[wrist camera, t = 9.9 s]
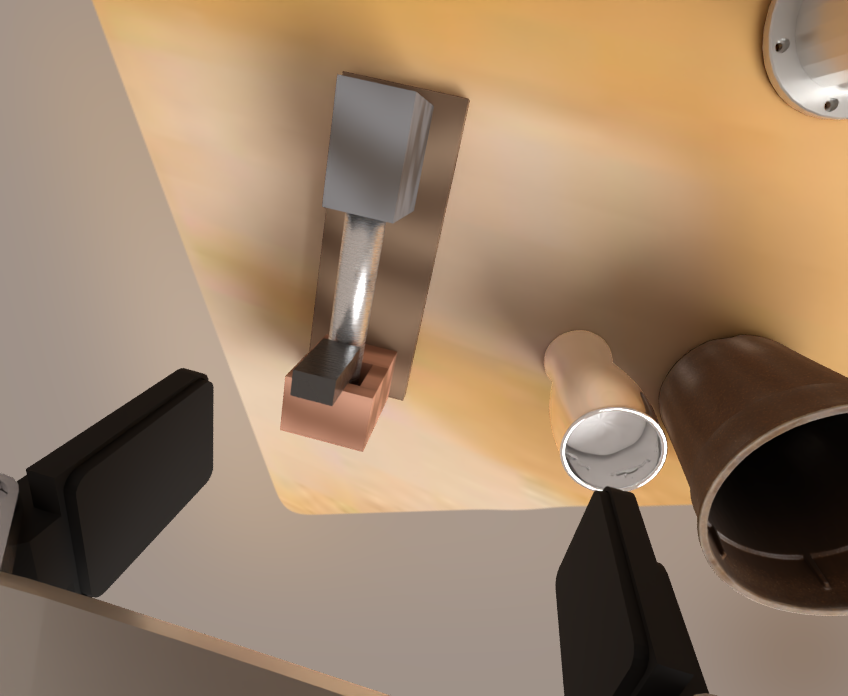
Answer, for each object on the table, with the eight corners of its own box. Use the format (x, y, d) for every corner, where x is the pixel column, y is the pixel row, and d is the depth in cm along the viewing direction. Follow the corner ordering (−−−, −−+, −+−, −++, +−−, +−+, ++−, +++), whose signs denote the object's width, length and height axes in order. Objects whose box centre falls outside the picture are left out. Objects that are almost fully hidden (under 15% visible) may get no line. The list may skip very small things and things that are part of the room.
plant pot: (756, 493, 46) (877, 651, 31) (602, 435, 46) (651, 565, 32) (872, 352, 40) (1094, 467, 25) (693, 285, 40) (809, 359, 25)
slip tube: (358, 162, 34) (314, 164, 26) (398, 172, 34) (366, 176, 26) (327, 387, 42) (285, 443, 34) (359, 395, 42) (325, 453, 33)
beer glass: (599, 401, 45) (643, 508, 31) (528, 382, 45) (542, 479, 32) (628, 336, 42) (691, 422, 28) (553, 316, 43) (579, 390, 29)
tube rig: (348, 74, 38) (293, 43, 28) (469, 101, 37) (459, 79, 27) (311, 369, 48) (262, 425, 38) (405, 393, 48) (380, 456, 38)
